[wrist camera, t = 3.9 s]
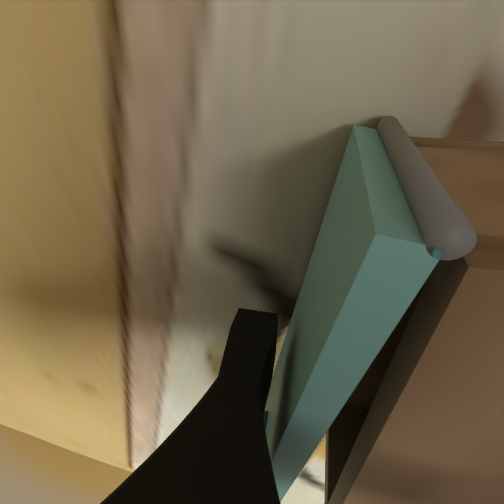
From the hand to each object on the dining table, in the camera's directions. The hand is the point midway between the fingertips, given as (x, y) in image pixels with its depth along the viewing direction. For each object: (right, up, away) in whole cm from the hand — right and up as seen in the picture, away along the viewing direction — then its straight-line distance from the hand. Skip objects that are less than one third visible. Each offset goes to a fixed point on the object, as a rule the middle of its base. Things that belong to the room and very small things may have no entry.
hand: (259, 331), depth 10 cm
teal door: (+2, +1, +1) cm, 2 cm away
